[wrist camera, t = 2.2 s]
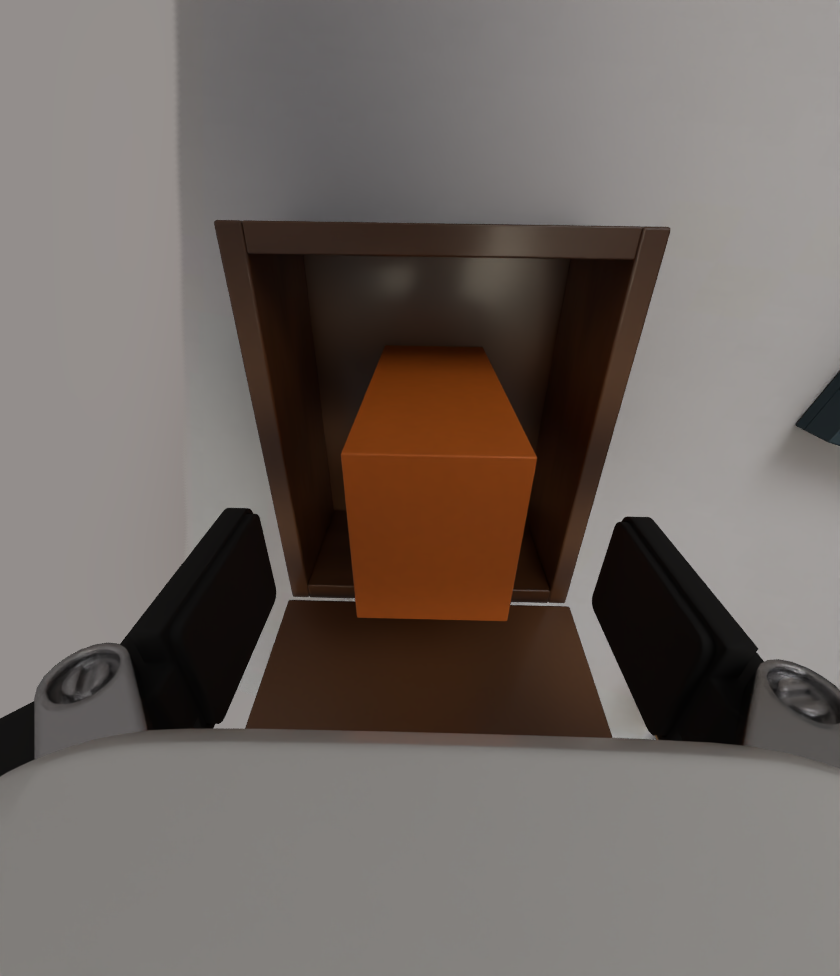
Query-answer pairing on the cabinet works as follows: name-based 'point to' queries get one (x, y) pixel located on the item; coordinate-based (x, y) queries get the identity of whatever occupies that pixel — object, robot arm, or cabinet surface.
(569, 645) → the lid
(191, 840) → the robot arm
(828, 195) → the cabinet surface
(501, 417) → the block
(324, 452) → the chest
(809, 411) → the tray
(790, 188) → the cabinet surface
